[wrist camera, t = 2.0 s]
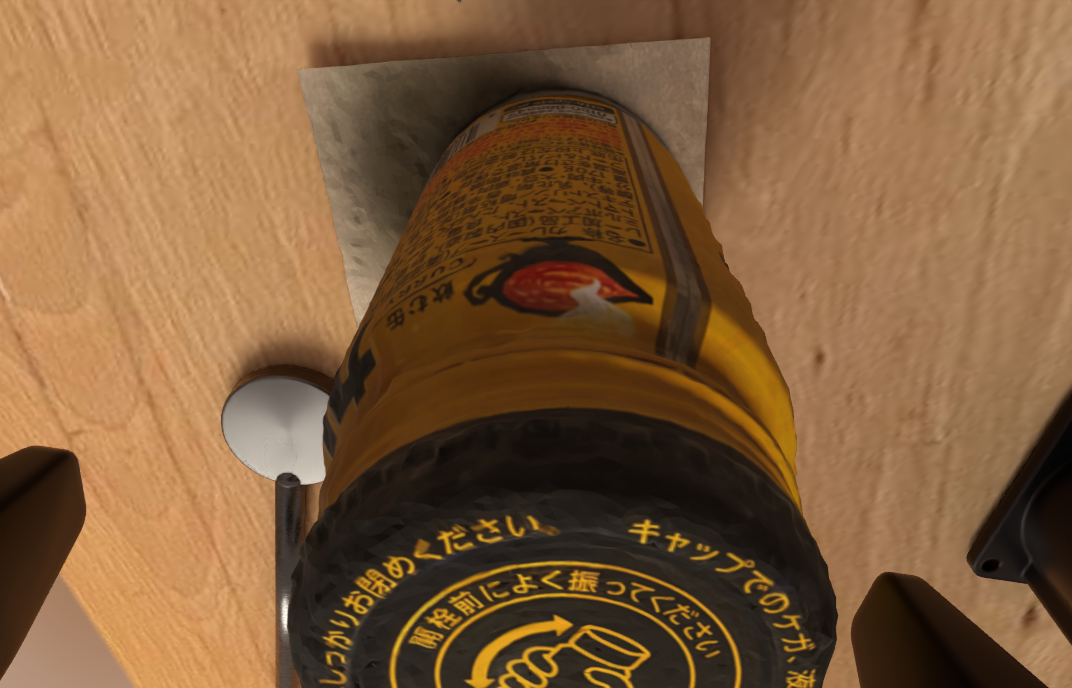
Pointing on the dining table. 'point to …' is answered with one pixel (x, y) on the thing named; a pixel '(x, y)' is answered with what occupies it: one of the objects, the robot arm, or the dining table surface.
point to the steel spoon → (281, 466)
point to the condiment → (547, 393)
